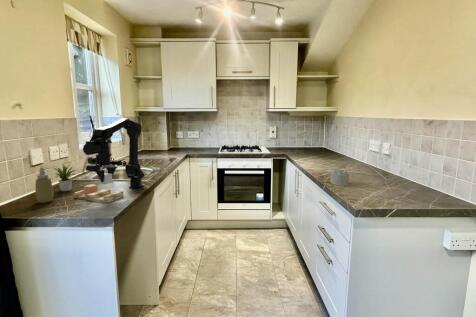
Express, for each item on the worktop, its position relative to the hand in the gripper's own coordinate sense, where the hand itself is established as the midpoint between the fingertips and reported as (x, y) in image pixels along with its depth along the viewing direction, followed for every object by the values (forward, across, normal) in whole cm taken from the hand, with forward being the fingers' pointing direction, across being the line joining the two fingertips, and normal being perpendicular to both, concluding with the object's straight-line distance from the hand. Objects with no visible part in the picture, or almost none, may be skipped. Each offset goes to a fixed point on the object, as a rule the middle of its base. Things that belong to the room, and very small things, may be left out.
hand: (106, 181), depth 148 cm
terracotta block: (+9, 0, -12) cm, 15 cm away
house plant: (+10, -2, -36) cm, 37 cm away
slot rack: (+10, 0, -6) cm, 11 cm away
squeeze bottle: (+10, +16, -26) cm, 32 cm away
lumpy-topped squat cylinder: (+10, -82, +114) cm, 141 cm away
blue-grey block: (+1, 0, 0) cm, 1 cm away
